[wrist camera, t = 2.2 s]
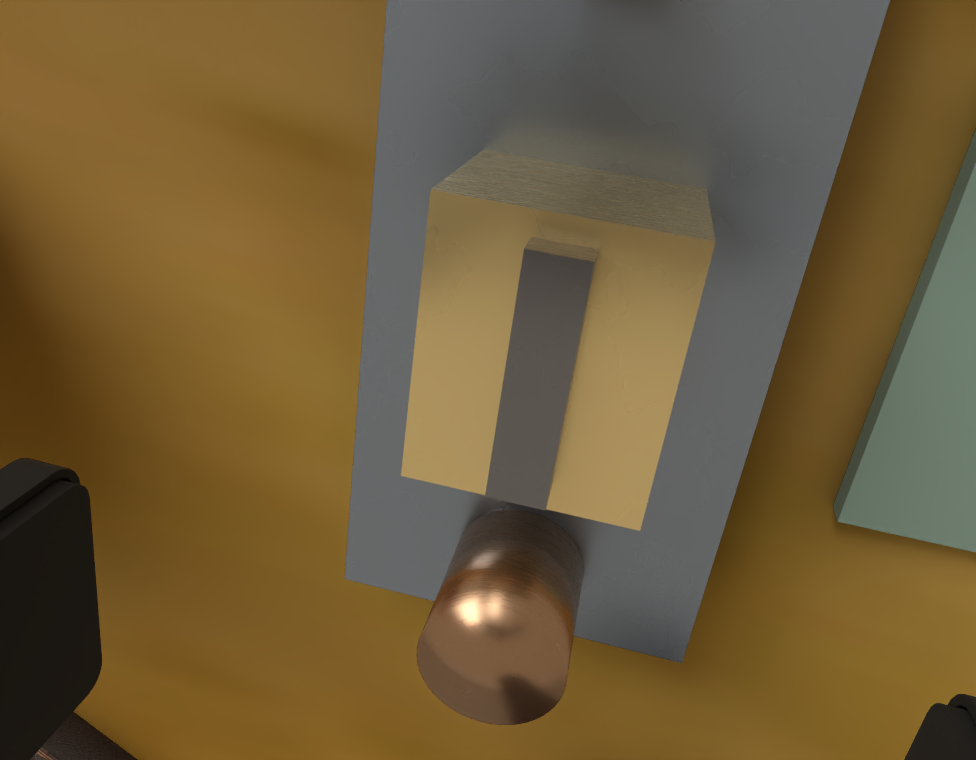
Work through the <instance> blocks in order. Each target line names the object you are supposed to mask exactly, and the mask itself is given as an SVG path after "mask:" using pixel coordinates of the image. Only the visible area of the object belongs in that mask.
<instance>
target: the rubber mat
mask: <svg viewBox="0 0 976 760" xmlns="http://www.w3.org/2000/svg"><path fill="white" fill-rule="evenodd" d="M833 509H834V512H835V515H836V519H837V522H841V523H846V524H850V525H855V526H859V527H864V528H868V529H873V530H877V531H882V532H886V533H891V534H895V535H900V536H904V537H909V538H913V539H918V540H922V541H927V542H931V543H936V544H940V545H945V546H949V547H954V548H958V549H963V550H967V551H972V552H976V129H975V132H974V135H973V137H972V140H971V143H970V145H969V148H968V151H967V153H966V156H965V159H964V161H963V164H962V166H961V169H960V172H959V174H958V177H957V180H956V182H955V185H954V188H953V190H952V193H951V195H950V198H949V201H948V203H947V206H946V209H945V211H944V214H943V217H942V219H941V222H940V225H939V227H938V230H937V232H936V235H935V238H934V240H933V243H932V246H931V248H930V251H929V254H928V256H927V259H926V261H925V264H924V267H923V269H922V272H921V275H920V277H919V280H918V283H917V285H916V288H915V290H914V293H913V296H912V298H911V301H910V304H909V306H908V309H907V312H906V314H905V317H904V320H903V322H902V325H901V327H900V330H899V333H898V335H897V338H896V341H895V343H894V346H893V349H892V351H891V354H890V356H889V359H888V362H887V364H886V367H885V370H884V372H883V375H882V378H881V380H880V383H879V386H878V388H877V391H876V393H875V396H874V399H873V401H872V404H871V407H870V409H869V412H868V415H867V417H866V420H865V422H864V425H863V428H862V430H861V433H860V436H859V438H858V441H857V444H856V446H855V449H854V452H853V454H852V457H851V459H850V462H849V465H848V467H847V470H846V473H845V475H844V478H843V481H842V483H841V486H840V488H839V491H838V494H837V496H836V499H835V502H834V504H833Z"/></svg>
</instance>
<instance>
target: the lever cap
mask: <svg viewBox="0 0 976 760" xmlns="http://www.w3.org/2000/svg"><path fill="white" fill-rule="evenodd" d="M714 246H715V236H714V230H713V224H712V218H711V212H710V206H709V200H708V194H707V189H703V188H698V187H692V186H686V185H681V184H675V183H669V182H664V181H658V180H652V179H647V178H641V177H635V176H630V175H624V174H618V173H612V172H607V171H601V170H595V169H590V168H584V167H578V166H573V165H567V164H561V163H556V162H550V161H544V160H539V159H533V158H527V157H522V156H516V155H510V154H505V153H499V152H493V151H488V150H483V151H481V152H480V153H479V154H477V155H476V156H475V157H473V158H472V159H471V160H469V161H468V162H467V163H465V164H464V165H463V166H461V167H460V168H459V169H457V170H456V171H455V172H453V173H452V174H451V175H449V176H448V177H447V178H445V179H444V180H443V181H441V182H440V183H439V184H437V185H436V186H435V187H433V188H432V189H431V191H430V200H429V210H428V220H427V229H426V239H425V249H424V258H423V268H422V278H421V287H420V297H419V306H418V316H417V326H416V335H415V345H414V355H413V364H412V374H411V384H410V393H409V403H408V413H407V422H406V432H405V442H404V451H403V461H402V471H401V476H404V477H408V478H413V479H417V480H421V481H426V482H430V483H434V484H439V485H443V486H447V487H452V488H456V489H460V490H465V491H469V492H473V493H478V494H482V495H485V497H489V498H493V499H497V500H502V501H506V502H510V503H515V504H519V505H523V506H528V507H532V508H536V509H541V510H545V511H546V509H547V510H552V511H556V512H560V513H565V514H569V515H573V516H578V517H582V518H586V519H591V520H595V521H599V522H604V523H608V524H612V525H617V526H621V527H625V528H630V529H634V530H638V531H640V530H641V526H642V522H643V518H644V514H645V510H646V507H647V503H648V499H649V495H650V491H651V487H652V484H653V480H654V476H655V472H656V468H657V464H658V461H659V457H660V453H661V449H662V445H663V441H664V438H665V434H666V430H667V426H668V422H669V418H670V415H671V411H672V407H673V403H674V399H675V395H676V392H677V388H678V384H679V380H680V376H681V372H682V369H683V365H684V361H685V357H686V353H687V349H688V346H689V342H690V338H691V334H692V330H693V326H694V323H695V319H696V315H697V311H698V307H699V303H700V300H701V296H702V292H703V288H704V284H705V280H706V277H707V273H708V269H709V265H710V261H711V257H712V254H713V250H714Z"/></svg>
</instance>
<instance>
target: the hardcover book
mask: <svg viewBox="0 0 976 760" xmlns="http://www.w3.org/2000/svg"><path fill="white" fill-rule="evenodd" d="M30 760H137V759H135V758H134V757H133V756H131V755H130V754H129V753H127V752H126V751H125V750H123V749H122V748H121V747H119V746H118V745H117V744H115V743H114V742H113V741H111V740H110V739H109V738H107V737H106V736H105V735H103V734H102V733H101V732H99V731H98V730H97V729H96V728H94V727H93V726H92V725H90V724H89V723H88V722H86V721H85V720H84V719H82V718H81V717H80V716H78V715H77V714H76V713H74V712H72V713H71V714H70V715H69V717H68V718H67V719H66V720H65V721H64V722H63V723H62V724H61V726H60V727H59V728H58V729H57V730H56V731H55V732H54V733H53V735H52V736H51V737H50V738H49V739H48V740H47V741H46V742H45V744H44V745H43V746H42V747H41V748H40V749H39V750H38V751H37V753H36V754H35V755H34V756H33V757H32V758H31V759H30Z"/></svg>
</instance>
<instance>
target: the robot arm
mask: <svg viewBox="0 0 976 760" xmlns="http://www.w3.org/2000/svg"><path fill="white" fill-rule="evenodd" d="M101 666H102V653H101V640H100V627H99V614H98V601H97V588H96V575H95V562H94V549H93V536H92V523H91V510H90V497H89V493H88V490H87V489H86V487H84V486H82V485H80V481H79V477H78V476H77V474H76V473H75V472H74V471H72V470H70V469H68V468H64V467H60V466H56V465H52V464H49V463H45V462H41V461H37V460H33V459H29V458H21V459H18V460H15V461H13V462H11V463H10V464H8V465H6V466H5V467H3V468H2V469H0V760H30V759H31V758H32V757H33V756H34V755H35V754H36V753H37V751H38V750H39V749H40V748H41V747H42V746H43V745H44V744H45V742H46V741H47V740H48V739H49V738H50V737H51V736H52V735H53V733H54V732H55V731H56V730H57V729H58V728H59V727H60V726H61V724H62V723H63V722H64V721H65V720H66V719H67V718H68V717H69V715H70V714H71V713H72V712H73V711H74V710H75V709H76V708H77V706H78V705H79V704H80V703H81V702H82V701H83V700H84V699H85V697H86V696H87V695H88V694H89V693H90V691H91V690H92V689H93V687H94V685H95V683H96V681H97V679H98V677H99V674H100V670H101ZM904 760H976V697H974V696H970V695H966V694H958V695H956V696H955V697H953V698H952V699H951V700H950V702H949V703H948V705H945V704H941V703H936V704H934V705H933V706H931V708H930V709H929V711H928V712H927V714H926V716H925V718H924V720H923V723H922V725H921V727H920V729H919V731H918V733H917V735H916V737H915V739H914V741H913V743H912V745H911V747H910V749H909V751H908V753H907V755H906V757H905V759H904Z"/></svg>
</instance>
